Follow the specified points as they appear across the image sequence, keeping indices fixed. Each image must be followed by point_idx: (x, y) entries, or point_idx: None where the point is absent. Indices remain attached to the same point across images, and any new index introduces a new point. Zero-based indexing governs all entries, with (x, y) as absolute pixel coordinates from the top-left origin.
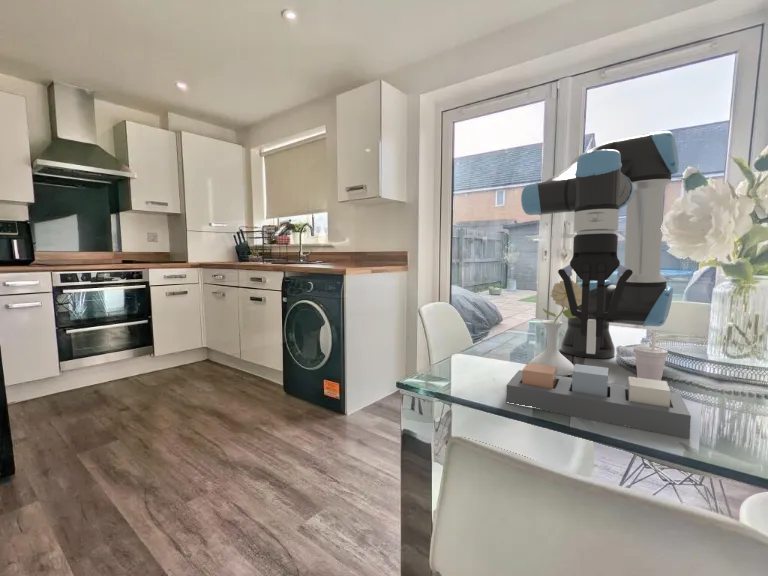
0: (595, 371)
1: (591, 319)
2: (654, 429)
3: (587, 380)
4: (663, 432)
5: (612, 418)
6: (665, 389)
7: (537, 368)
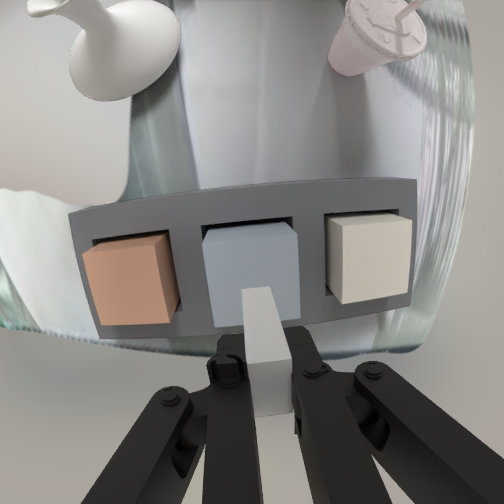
0: None
1: (265, 372)
2: None
3: None
4: None
5: None
6: (401, 288)
7: (120, 293)
